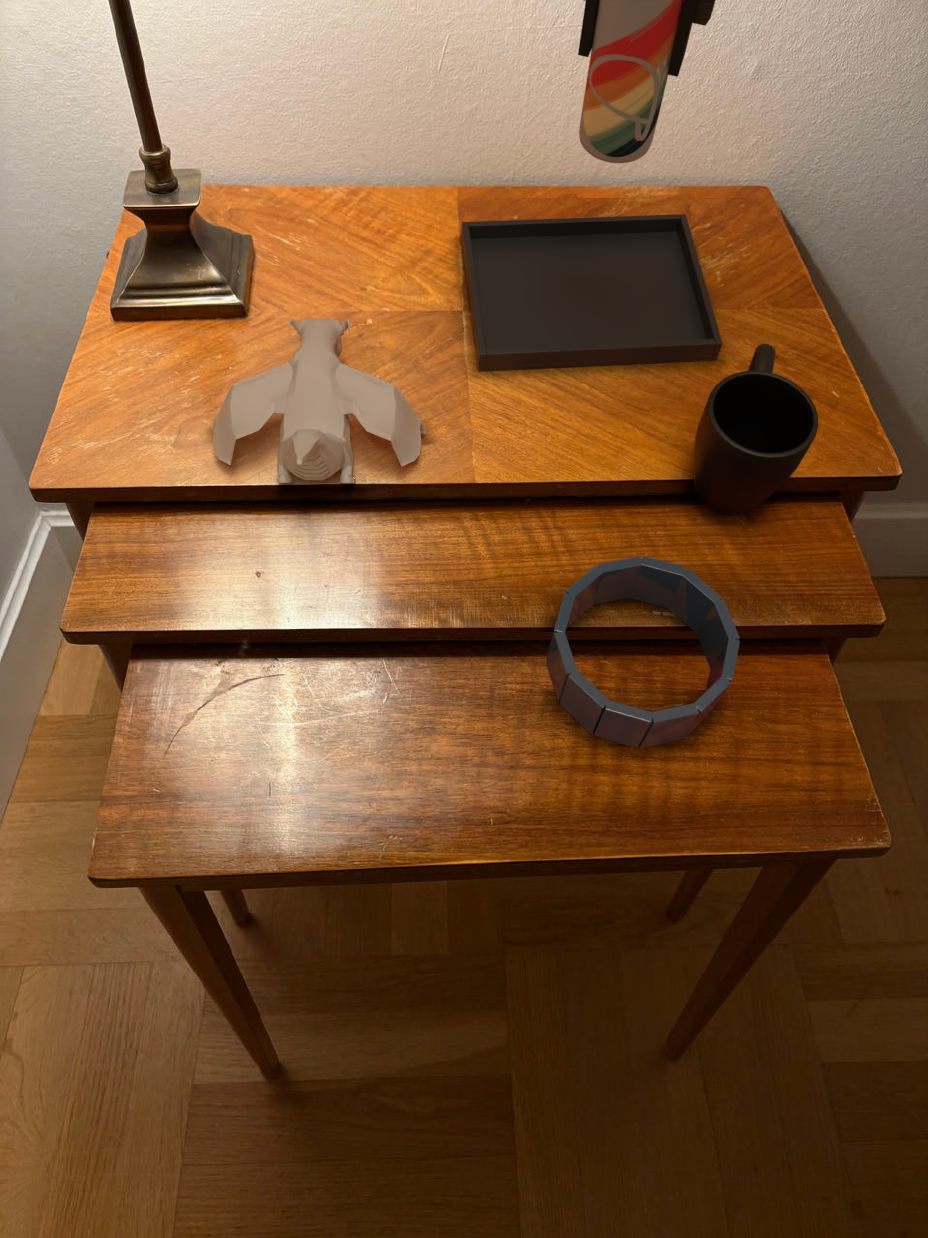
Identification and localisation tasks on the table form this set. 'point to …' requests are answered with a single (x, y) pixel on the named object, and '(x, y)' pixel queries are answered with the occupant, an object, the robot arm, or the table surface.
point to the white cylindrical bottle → (627, 76)
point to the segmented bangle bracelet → (658, 588)
